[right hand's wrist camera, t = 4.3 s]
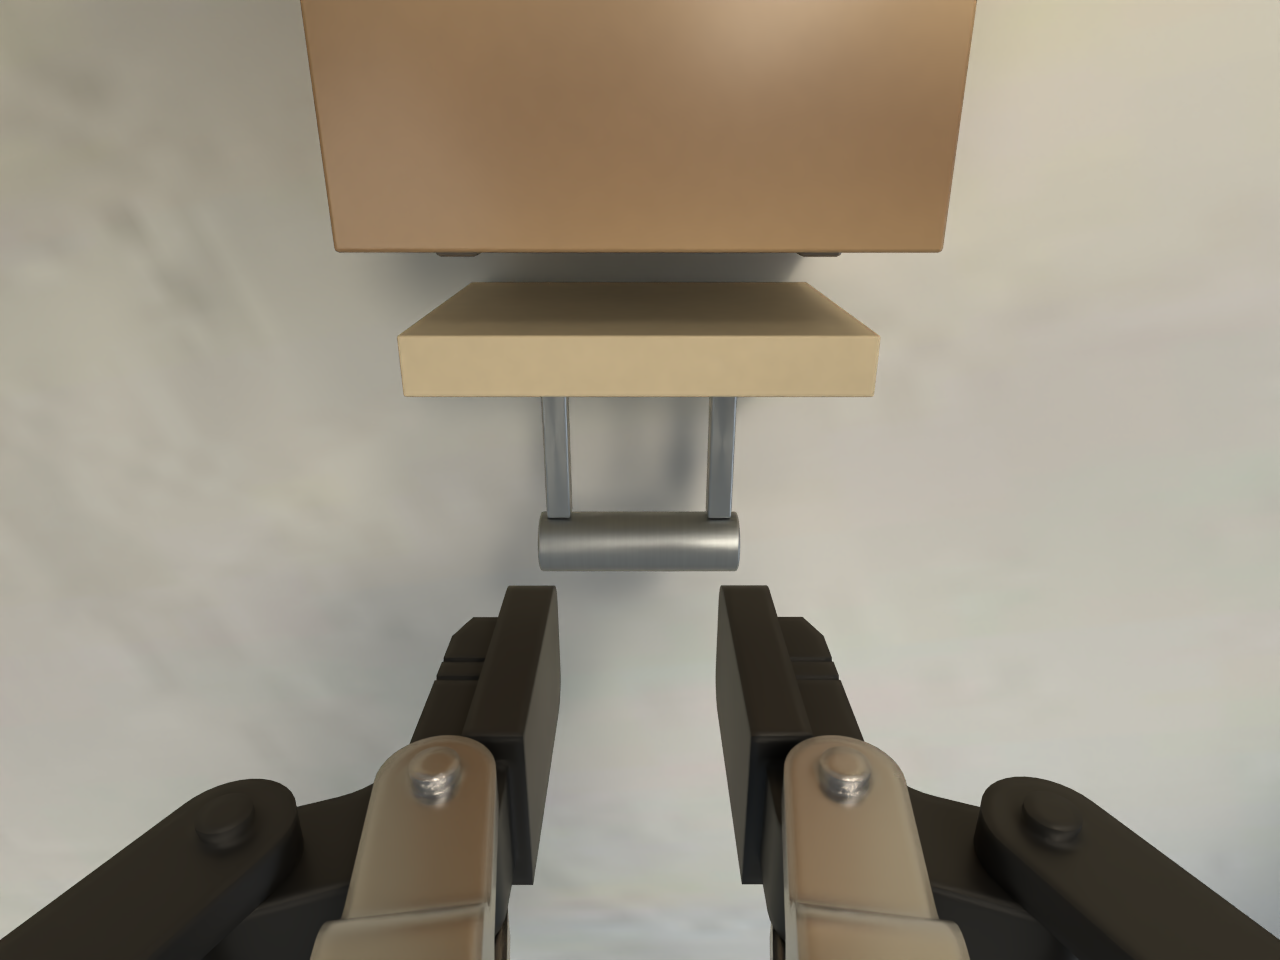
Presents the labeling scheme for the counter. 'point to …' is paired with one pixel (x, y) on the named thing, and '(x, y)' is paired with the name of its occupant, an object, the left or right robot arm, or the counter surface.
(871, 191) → the cabinet
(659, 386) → the drawer
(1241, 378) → the counter surface
